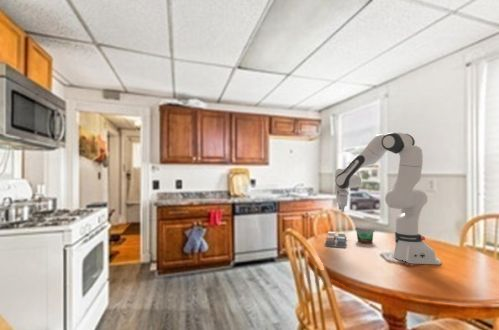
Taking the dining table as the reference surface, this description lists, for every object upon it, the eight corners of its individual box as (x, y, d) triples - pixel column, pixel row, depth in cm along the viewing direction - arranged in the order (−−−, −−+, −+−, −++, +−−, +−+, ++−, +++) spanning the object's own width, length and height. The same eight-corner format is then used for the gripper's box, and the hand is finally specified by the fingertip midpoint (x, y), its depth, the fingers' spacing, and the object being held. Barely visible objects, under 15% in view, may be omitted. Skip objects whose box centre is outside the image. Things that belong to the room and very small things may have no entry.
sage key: (345, 236, 194) (345, 232, 194) (345, 237, 190) (345, 234, 190) (338, 235, 195) (338, 232, 196) (338, 237, 191) (338, 233, 191)
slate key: (345, 241, 181) (345, 237, 181) (345, 242, 177) (345, 238, 177) (338, 240, 182) (338, 236, 182) (337, 242, 178) (337, 238, 178)
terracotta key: (334, 240, 183) (334, 236, 183) (333, 241, 179) (333, 237, 179) (327, 239, 185) (327, 235, 185) (326, 241, 180) (326, 237, 180)
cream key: (334, 235, 196) (334, 231, 196) (334, 236, 192) (334, 233, 192) (328, 235, 198) (328, 231, 198) (328, 236, 194) (328, 232, 194)
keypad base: (346, 238, 198) (346, 235, 198) (346, 248, 172) (346, 244, 172) (327, 236, 203) (327, 233, 203) (325, 246, 176) (325, 243, 176)
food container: (356, 243, 183) (356, 228, 184) (355, 241, 189) (355, 227, 190) (376, 244, 180) (375, 229, 180) (374, 242, 186) (374, 227, 186)
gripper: (334, 189, 200) (334, 208, 200) (339, 192, 180) (339, 213, 180) (343, 189, 199) (343, 208, 199) (349, 192, 179) (349, 213, 179)
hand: (341, 210), depth 189 cm, fingers open, 8 cm apart
